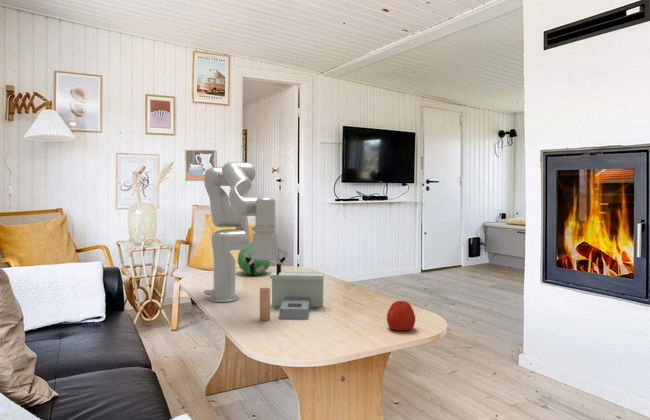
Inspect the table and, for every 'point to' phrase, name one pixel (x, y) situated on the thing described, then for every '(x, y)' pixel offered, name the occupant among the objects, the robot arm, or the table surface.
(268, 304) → the peg
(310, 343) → the table surface
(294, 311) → the socket
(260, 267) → the decorative sphere
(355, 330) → the table surface
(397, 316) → the apple
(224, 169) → the robot arm
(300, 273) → the pale green rectangular block
